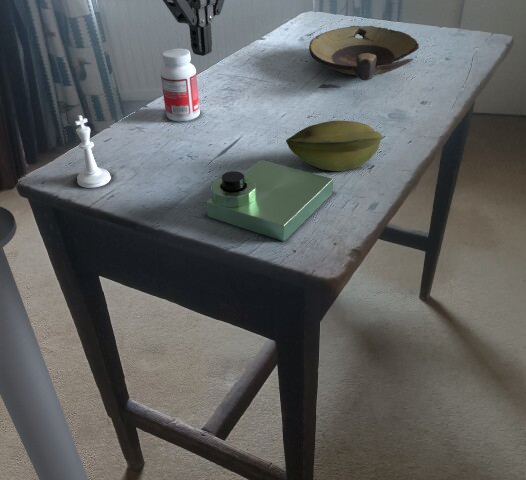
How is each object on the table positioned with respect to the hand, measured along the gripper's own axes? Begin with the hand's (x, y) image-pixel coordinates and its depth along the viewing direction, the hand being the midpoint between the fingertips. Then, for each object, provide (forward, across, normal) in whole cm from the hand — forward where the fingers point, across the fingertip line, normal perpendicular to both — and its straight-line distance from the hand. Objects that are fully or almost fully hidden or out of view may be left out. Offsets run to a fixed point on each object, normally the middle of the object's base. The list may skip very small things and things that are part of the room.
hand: (202, 53), depth 80 cm
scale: (+17, +5, +14) cm, 23 cm away
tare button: (+13, +9, +11) cm, 19 cm away
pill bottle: (+17, -14, -16) cm, 27 cm away
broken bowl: (+17, -50, +1) cm, 53 cm away
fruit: (+17, -11, +16) cm, 26 cm away
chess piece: (+17, +12, -13) cm, 25 cm away
